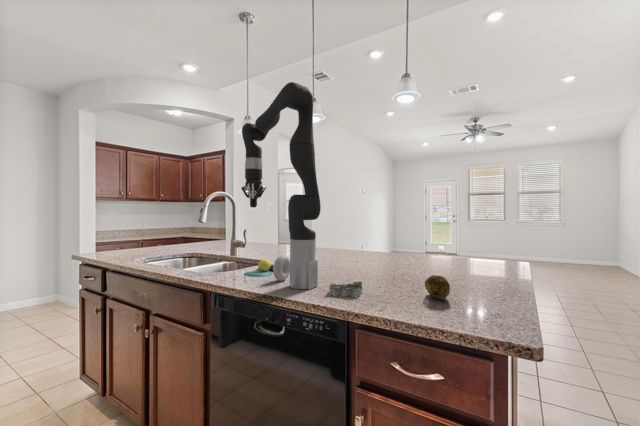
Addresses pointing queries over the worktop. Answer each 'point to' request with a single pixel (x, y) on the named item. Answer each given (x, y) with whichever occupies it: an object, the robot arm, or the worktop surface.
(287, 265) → the donut
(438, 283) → the dark green oval lump
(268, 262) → the ball
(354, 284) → the egg carton
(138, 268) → the worktop surface
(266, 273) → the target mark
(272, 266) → the stopper strip
